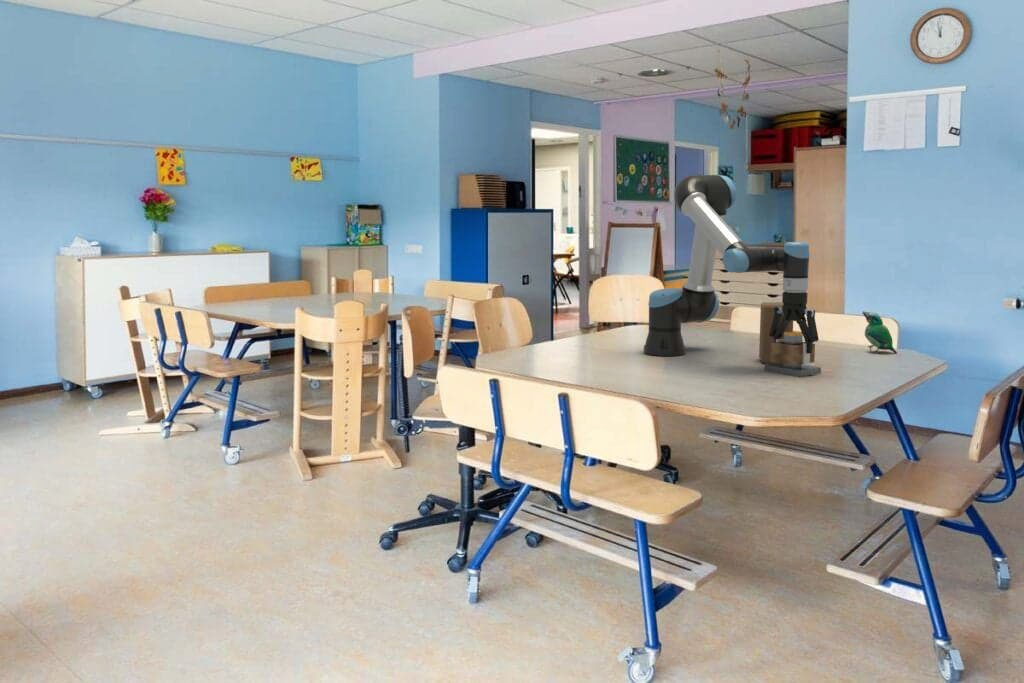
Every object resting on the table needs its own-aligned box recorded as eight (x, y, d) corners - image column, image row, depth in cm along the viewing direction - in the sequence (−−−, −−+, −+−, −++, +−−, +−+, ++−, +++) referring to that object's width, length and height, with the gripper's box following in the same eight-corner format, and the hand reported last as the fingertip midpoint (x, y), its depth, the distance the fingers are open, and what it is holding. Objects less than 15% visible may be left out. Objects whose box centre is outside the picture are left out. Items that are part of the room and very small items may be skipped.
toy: (861, 354, 304) (863, 312, 302) (859, 350, 312) (861, 309, 309) (898, 355, 300) (901, 313, 298) (895, 351, 308) (897, 310, 306)
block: (792, 364, 286) (794, 305, 283) (761, 363, 288) (763, 304, 285) (788, 359, 295) (790, 302, 292) (758, 358, 297) (760, 301, 294)
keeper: (764, 370, 274) (765, 330, 273) (783, 367, 280) (785, 328, 278) (800, 377, 263) (802, 335, 261) (820, 373, 269) (822, 332, 267)
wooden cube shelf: (770, 361, 272) (771, 342, 271) (789, 358, 278) (790, 340, 277) (795, 365, 265) (796, 346, 264) (814, 362, 270) (815, 343, 269)
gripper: (758, 289, 275) (756, 357, 278) (818, 294, 257) (815, 367, 260) (773, 288, 279) (771, 355, 282) (833, 292, 261) (829, 364, 264)
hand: (792, 361), depth 271 cm, fingers closed on wooden cube shelf, 9 cm apart
